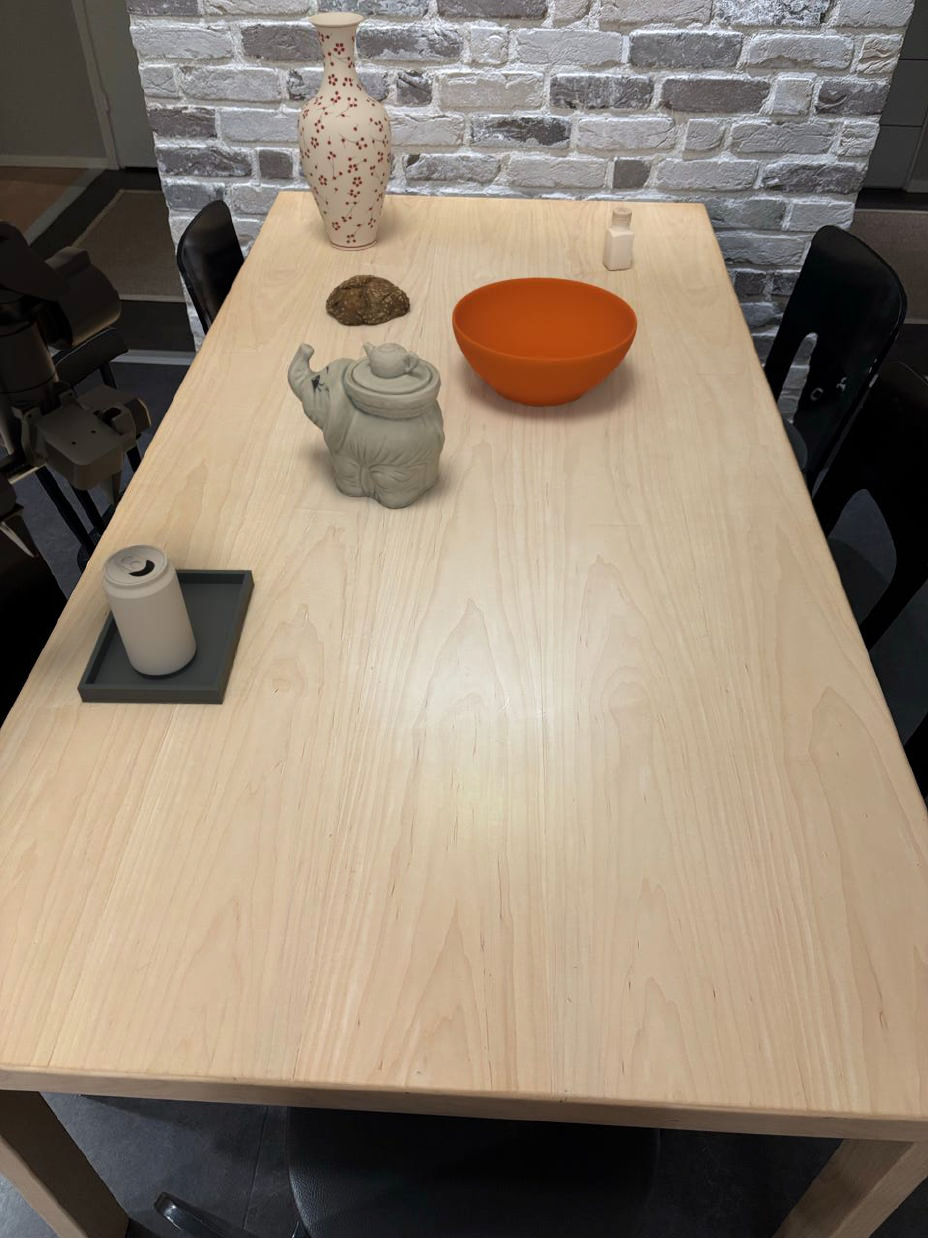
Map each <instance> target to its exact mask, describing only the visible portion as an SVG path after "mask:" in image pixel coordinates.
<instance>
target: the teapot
mask: <svg viewBox="0 0 928 1238" xmlns="http://www.w3.org/2000/svg"><path fill="white" fill-rule="evenodd" d="M362 347H363V350H364V352H365V353H366V355H365V356H364V357H361V358H358V359H357V360H356V359H353V358H347V357H341V358H336V359H334V360H332V361H331V362H329V363H328V364H326V365H325V367H323V368H322V369H321V370H318V371H314V370H312V368H311V367H310V360H311V359H312V357H313V356H314V354H315V349H314V347H313V346H311V345H310V344H308V343H305V342H302V343H301V344H300V345H299V346H298V349H297V351H296V352H295V354H294V356H293V358H292V360H291V361H290V364H289V366H288V370H287V383H288V385H289V387H290V390H291V391H292V393H293V394H294V396H295V397H296V398H297V399H298V400H299V402H301V407H302V409H303V413H304V414H305V417H307V419H308V420H309V421H310V422H311V423H312V424H313V425H314V426H316V427H317V428H319V429H320V430H321V432H322V436H323V441H324V443H325V445H326V447H327V449H328V459H329V461H330V463H331V464H332V467H333V470H334V482H335V484H336V487H337V489H338V490H339V491H340V492H341V493H342V494H344V495H346V496H349V497H364V496H365V497H366V496H367V497H371V498H374V499H375V500H377V501H378V502H379V504H381V505H382V506H385V507H386V508H390V509H398V508H399V509H400V508H405V507H406V506H409V505H411V504H413V503H414V502H415V501H416V500H417V499H419V497H420V496H421V495H422V494H423V493H424V492H425V491H427V490H428V489H430V488H431V487H433V486H434V485H435V484H436V483H437V481H438V478H439V470H440V469H439V467H440V459H441V454H442V452H443V449H444V444H445V442H446V434H445V431H444V417H443V412H442V408H441V407H440V404H439V401H438V399H437V398H438V396H439V393H440V390H441V387H442V381H441V373H440V371H439V370H438V368H437V367H436V366H435V365H434V364H432V362H430V361H428V360H425V359H423V358H420V357H419V354H417V353H416V352H414V351H408V350H407V349H406V348H405V346H403V345H401V344H399V343H395V342H388V343H383V344H381V345H378V346H376V345H374V344H372V343H370V342H368V341H366V342H364V343H363V345H362Z"/></svg>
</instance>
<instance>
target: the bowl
mask: <svg viewBox="0 0 928 1238" xmlns="http://www.w3.org/2000/svg"><path fill="white" fill-rule="evenodd" d="M451 325H452V330H453V335H454V337H455V341H456V343H457V346H458V348H459V350H460V352H461V354H462V355H463V357H464V359H465V360H466V362H467V363H468V364H469V366H470V367H471V368H472V369H473V371H474V372H475V373H476V374H477V375H478V376H479V377H480V378H481V379H482V380H483V381H485V383H487V384H488V385H489V386H490V387H491V388H492V389H494V391H495V392H496V393H497V394H498V395H500V396H501V397H503V398H504V399H506V400H508V401H511V402H513V403H516V404H519V405H523V406H529V407H542V408H543V407H556V406H562V405H566V404H569V403H572V402H575V401H577V400H579V399H580V398H581V397H582V396H584V395H585V394H586V393H587V392H590V390H592V389H594V388H595V387H596V386H598V385H599V384H600V383H602V382H603V381H604V380H606V378H607V377H609V376H610V375H611V374H612V373H613V372H614V371H615V370H616V369H617V368H618V366H619V365H620V364H621V363H622V361H624V359H625V357H626V355H627V354H628V352H629V351H630V349H631V346H632V344H633V342H634V340H635V338H636V334H637V330H638V318H637V315H636V312H635V311H634V309H633V308H632V306H631V305H630V304H628V302H626V301H625V300H624V299H623V298H621V297H620V296H619V295H617V294H615V293H613V292H612V291H609V290H607V289H604V288H602V287H599V286H598V285H597V286H596V285H593V284H590V283H586V282H583V281H577V280H572V279H566V278H557V277H540V276H539V277H537V276H536V277H519V278H518V277H517V278H511V279H505V280H499V281H496V282H492V283H488V284H485V285H481V286H480V287H478V288H475V289H473V290H471V291H470V292H468V293H467V294H465V295H464V296H463V297H462V298H460V299H459V300H458V302H457V303H456V304H455V306H454V308H453V311H452V314H451Z"/></svg>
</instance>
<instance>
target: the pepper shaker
mask: <svg viewBox="0 0 928 1238" xmlns="http://www.w3.org/2000/svg"><path fill="white" fill-rule="evenodd" d="M632 215H633V210H632V209H631V208H629V207H624V206H618V207H615V208H613V209H612V216H611V226H609V227H608V228H606V230H605V237H604V246H603V254H602V263H603V265H604V266H605V267H606V268H607V269H608V270H610V271H617V270H626V269H630V266H631V260H632V254H633V253H632V252H633V244H634V237H635V233H634V231H633V230H632V228H630V227H631V223H632Z"/></svg>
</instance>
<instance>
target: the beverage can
mask: <svg viewBox="0 0 928 1238" xmlns="http://www.w3.org/2000/svg"><path fill="white" fill-rule="evenodd" d="M175 569H176V567H175V564H174V563H173V561H172V560H171V559H170V558H169V557H168V555H167V554H166V552H165V551H164V550H163V549H162V548H160V547H159V546H154V545H150V544H136V545H131V546H127V547H124V548H122V549H120V550H117V551H115V552H113V553H112V554H111V555H110V556H109V557H108V558H107V559H106V560H105V562H104V563H103V566H102V574H103V575H102V579H101V584H102V587H103V590H104V593H105V595H106V598H107V601H108V604H109V607H110V610H112V613H113V615H114V618H115V621H116V624H117V627H118V629H119V632H120V635H121V638H122V641H123V643H124V646H125V649H126V652H127V655H128V657H129V660H130V663H131V665H132V666H133V667H134V668H135V669H136V670H137V671H139V672H141V673H144V674H147V675H166V674H170V673H173V672H176V671H178V670H180V669H181V668H183V667H184V666H185V665H186V664H187V663H188V662H189V661H190V660H191V659H192V658H193V656H194V654H195V651H196V642H195V638H194V635H193V631H192V628H191V624H190V621H189V617H188V614H187V610H186V606H185V603H184V599H183V596H182V592H181V589H180V585H179V581H178V578H177V574H176V571H175Z"/></svg>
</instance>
